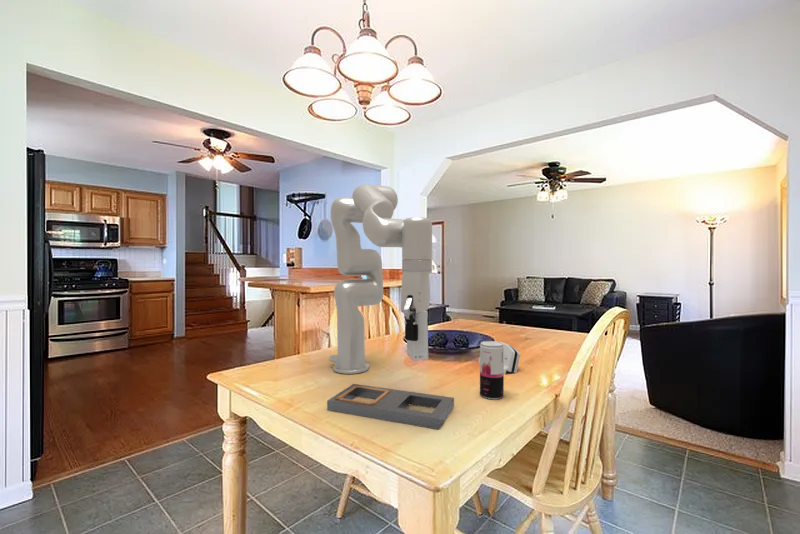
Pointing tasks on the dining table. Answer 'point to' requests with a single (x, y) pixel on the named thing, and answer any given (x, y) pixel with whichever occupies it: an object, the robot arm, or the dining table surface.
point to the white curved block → (510, 358)
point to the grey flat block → (392, 405)
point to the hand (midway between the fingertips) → (416, 336)
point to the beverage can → (491, 369)
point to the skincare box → (419, 340)
